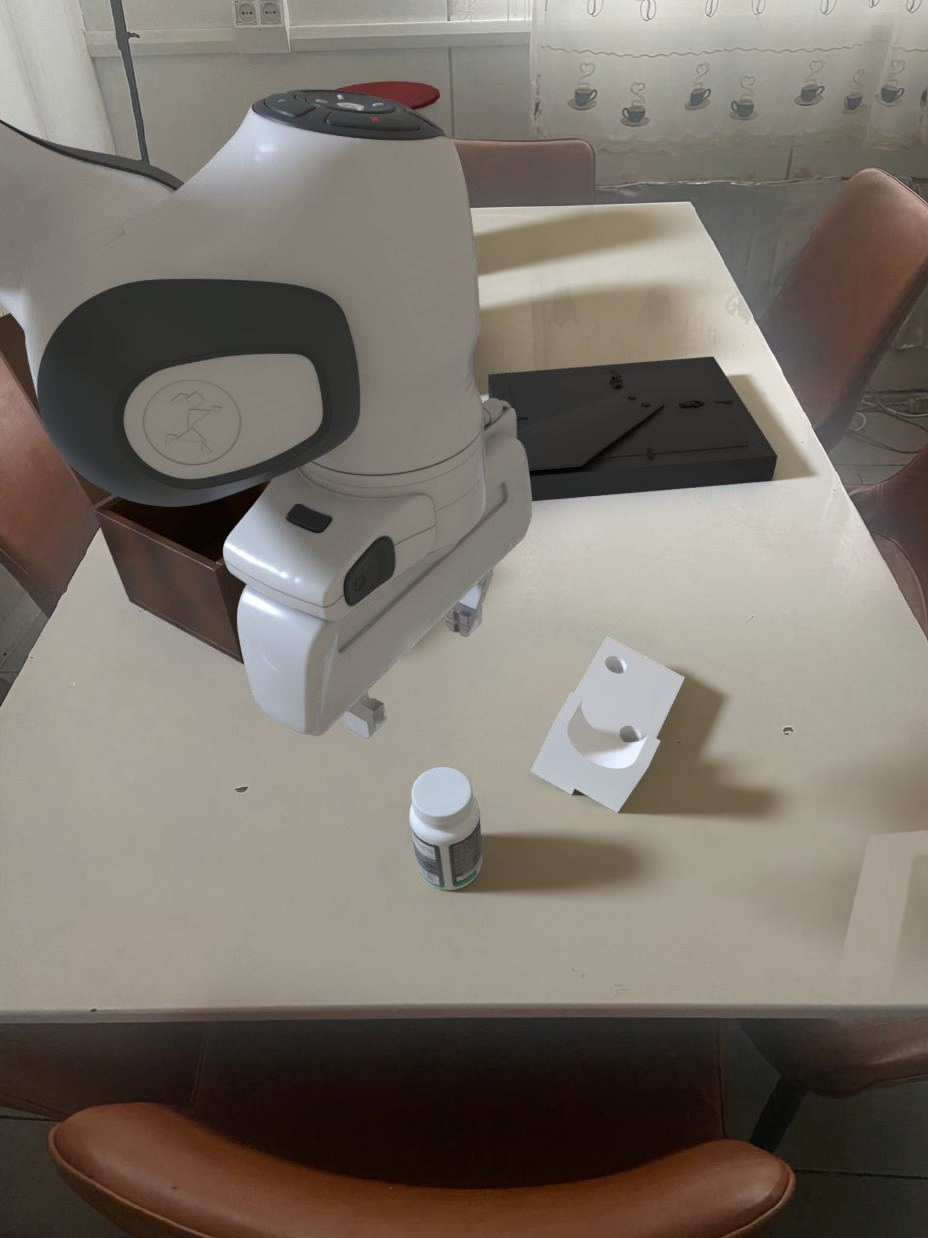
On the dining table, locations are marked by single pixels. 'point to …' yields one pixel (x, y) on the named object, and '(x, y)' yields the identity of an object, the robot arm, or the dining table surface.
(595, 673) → the bracket
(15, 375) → the lid
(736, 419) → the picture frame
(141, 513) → the chest
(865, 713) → the dining table surface
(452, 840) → the pill bottle
